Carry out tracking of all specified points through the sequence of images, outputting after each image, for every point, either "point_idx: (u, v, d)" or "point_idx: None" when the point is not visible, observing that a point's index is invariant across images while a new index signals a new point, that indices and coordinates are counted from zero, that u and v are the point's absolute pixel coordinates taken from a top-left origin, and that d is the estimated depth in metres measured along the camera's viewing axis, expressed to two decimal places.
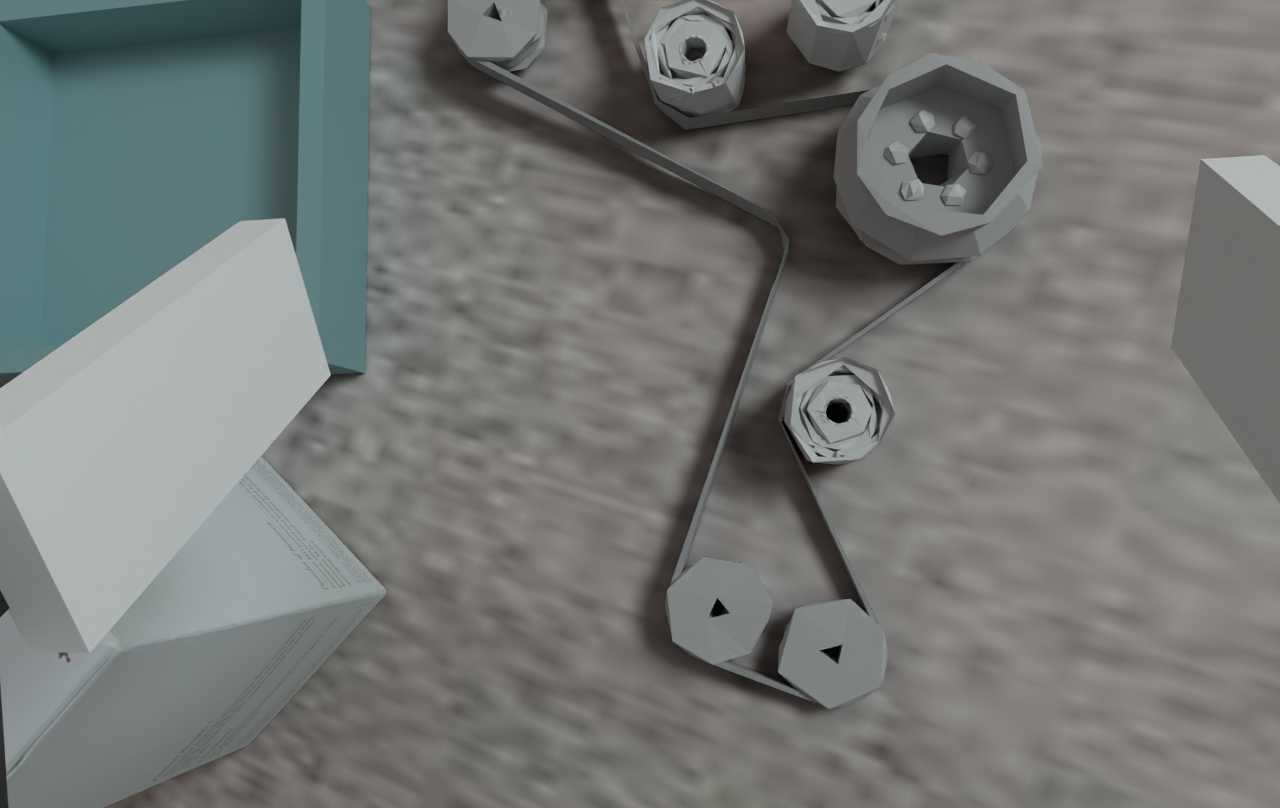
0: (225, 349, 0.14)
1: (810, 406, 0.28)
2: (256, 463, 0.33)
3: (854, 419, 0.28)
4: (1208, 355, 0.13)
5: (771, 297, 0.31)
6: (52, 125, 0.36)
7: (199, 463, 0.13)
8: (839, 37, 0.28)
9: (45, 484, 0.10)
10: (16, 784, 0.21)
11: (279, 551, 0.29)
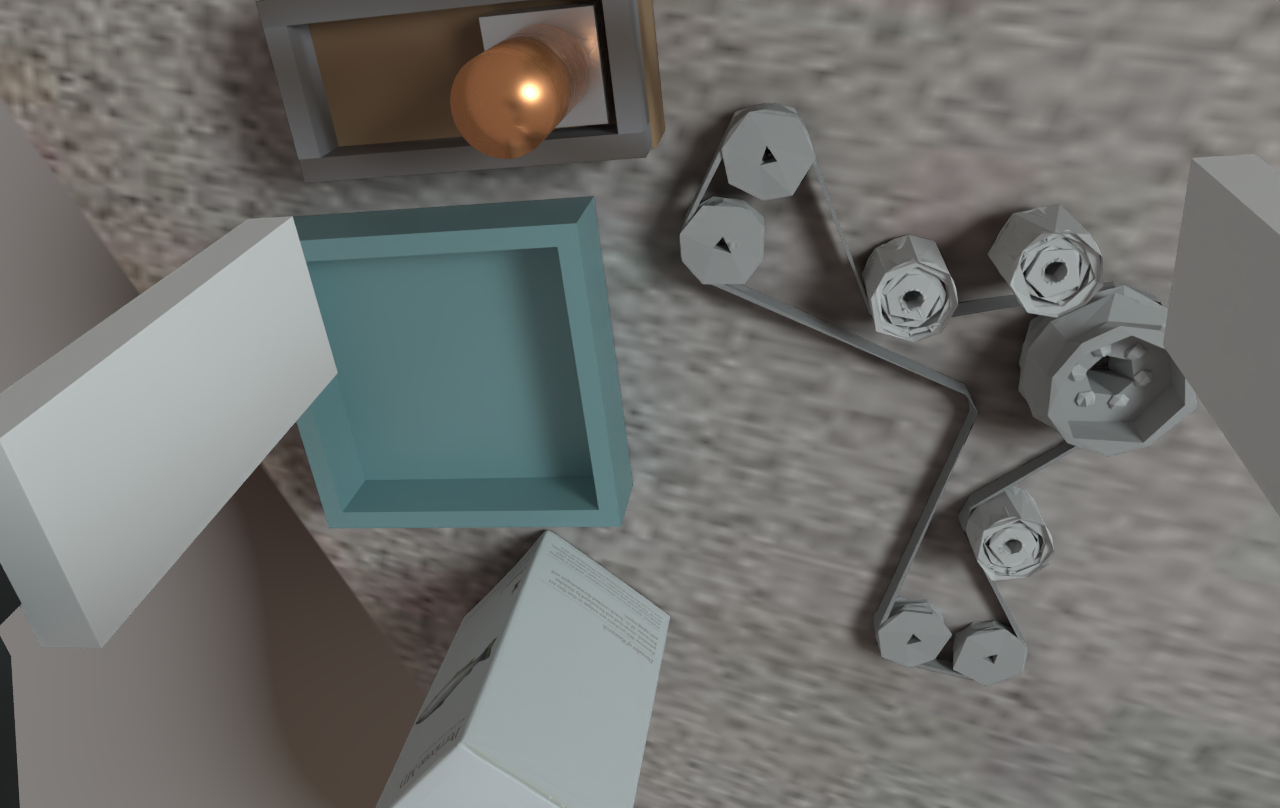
0: (233, 346, 0.14)
1: (992, 544, 0.39)
2: (564, 554, 0.44)
3: (1023, 550, 0.39)
4: (1199, 353, 0.13)
5: (959, 445, 0.39)
6: None
7: (208, 460, 0.13)
8: (1043, 311, 0.34)
9: (57, 480, 0.11)
10: None
11: (621, 652, 0.42)
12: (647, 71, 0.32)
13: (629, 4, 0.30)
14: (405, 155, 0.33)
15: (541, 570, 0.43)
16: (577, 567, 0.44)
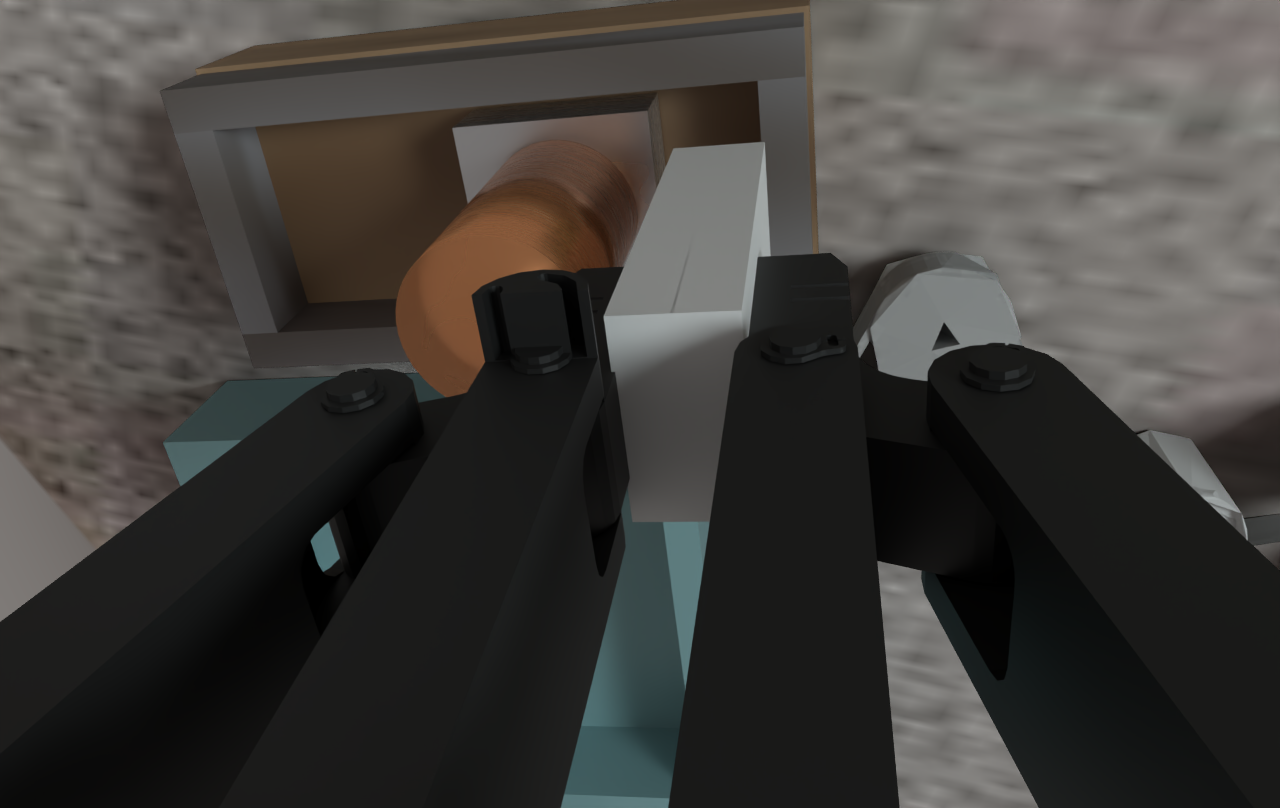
0: None
1: None
2: None
3: None
4: None
5: None
6: None
7: None
8: None
9: None
10: None
11: None
12: (815, 198, 0.20)
13: (806, 100, 0.17)
14: None
15: None
16: None
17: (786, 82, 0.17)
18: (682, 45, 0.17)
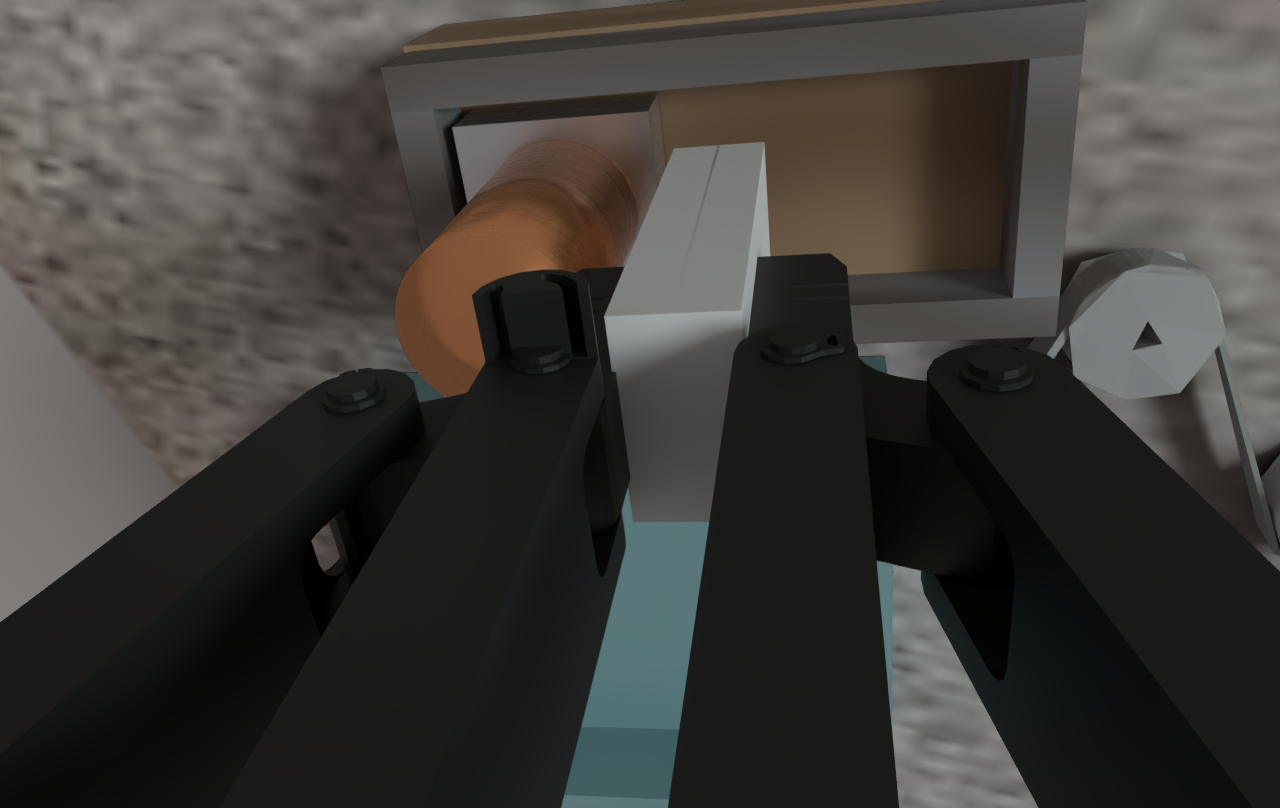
0: None
1: None
2: None
3: None
4: None
5: None
6: None
7: None
8: None
9: None
10: None
11: None
12: None
13: (1078, 80, 0.16)
14: None
15: None
16: None
17: (1060, 60, 0.16)
18: (952, 21, 0.16)
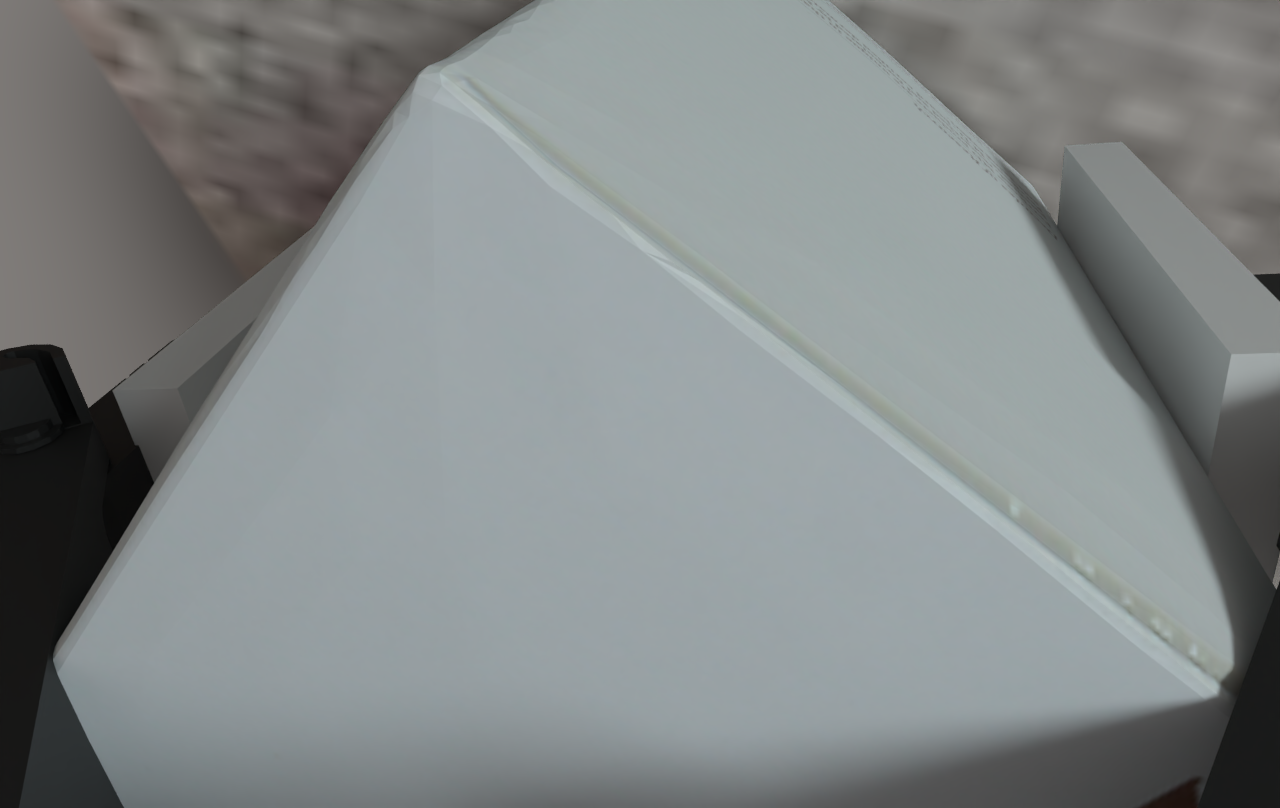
0: None
1: None
2: None
3: None
4: None
5: None
6: None
7: None
8: None
9: None
10: None
11: (985, 178, 0.13)
12: None
13: None
14: None
15: None
16: None
17: None
18: None
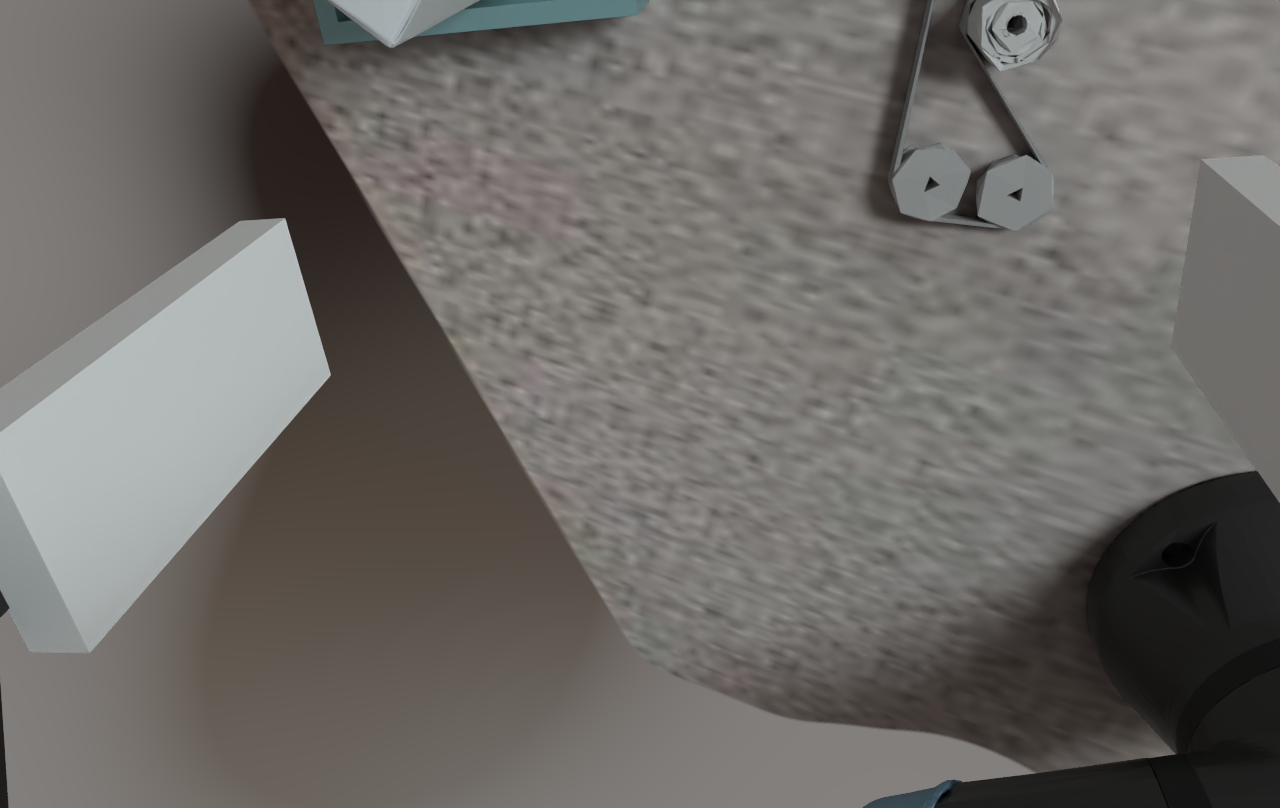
0: (224, 349, 0.14)
1: (994, 27, 0.37)
2: None
3: (1029, 29, 0.37)
4: (1208, 355, 0.13)
5: None
6: None
7: (199, 463, 0.13)
8: None
9: (45, 484, 0.10)
10: None
11: None
12: None
13: None
14: None
15: None
16: None
17: None
18: None
